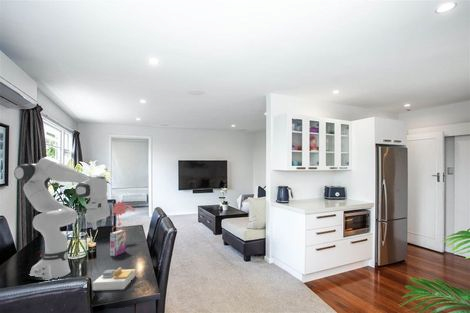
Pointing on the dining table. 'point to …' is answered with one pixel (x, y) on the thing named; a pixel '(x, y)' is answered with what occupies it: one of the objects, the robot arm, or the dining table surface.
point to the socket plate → (112, 282)
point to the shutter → (122, 273)
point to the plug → (108, 273)
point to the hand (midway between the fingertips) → (99, 227)
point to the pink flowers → (120, 210)
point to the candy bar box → (117, 242)
